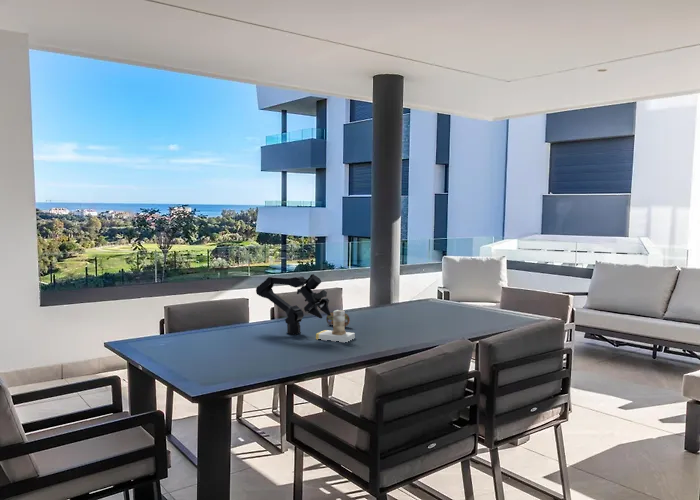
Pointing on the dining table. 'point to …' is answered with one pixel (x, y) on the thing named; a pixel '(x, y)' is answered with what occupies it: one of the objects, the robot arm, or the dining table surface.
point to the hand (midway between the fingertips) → (326, 316)
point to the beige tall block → (339, 322)
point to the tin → (330, 319)
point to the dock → (335, 336)
